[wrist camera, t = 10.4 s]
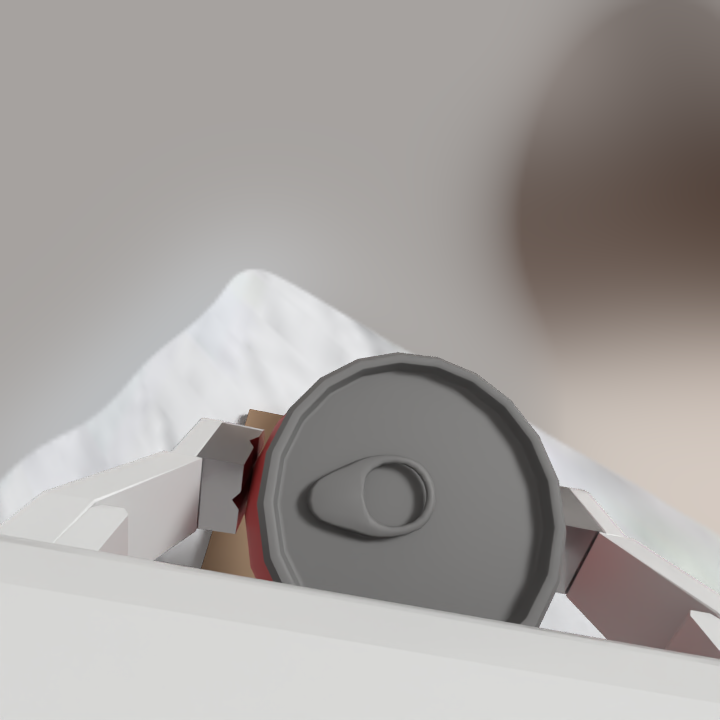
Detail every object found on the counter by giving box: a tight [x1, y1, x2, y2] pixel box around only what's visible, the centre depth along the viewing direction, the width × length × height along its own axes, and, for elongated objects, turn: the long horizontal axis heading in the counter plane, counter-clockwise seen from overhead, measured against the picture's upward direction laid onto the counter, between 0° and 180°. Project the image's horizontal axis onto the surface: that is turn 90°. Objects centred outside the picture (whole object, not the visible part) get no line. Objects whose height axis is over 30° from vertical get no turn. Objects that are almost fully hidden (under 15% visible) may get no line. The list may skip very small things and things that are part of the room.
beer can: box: [245, 352, 566, 628], centre depth 12 cm, size 7×7×12 cm
